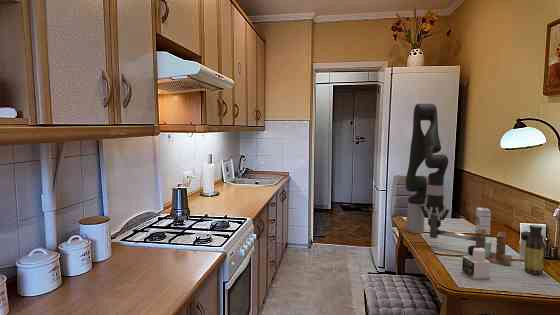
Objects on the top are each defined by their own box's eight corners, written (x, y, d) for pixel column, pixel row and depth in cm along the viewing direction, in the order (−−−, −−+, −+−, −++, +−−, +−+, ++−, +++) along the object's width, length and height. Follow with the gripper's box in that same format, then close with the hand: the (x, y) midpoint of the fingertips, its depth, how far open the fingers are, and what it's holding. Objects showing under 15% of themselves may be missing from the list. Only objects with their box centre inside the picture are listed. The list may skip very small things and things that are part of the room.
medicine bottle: (461, 271, 136) (462, 244, 135) (477, 271, 136) (478, 243, 135) (473, 279, 129) (474, 250, 128) (489, 278, 129) (491, 249, 128)
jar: (546, 261, 146) (548, 235, 145) (536, 264, 142) (538, 238, 141) (524, 254, 154) (526, 230, 153) (514, 257, 150) (516, 232, 150)
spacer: (483, 256, 149) (484, 242, 148) (485, 252, 154) (486, 238, 154) (488, 258, 148) (489, 243, 147) (490, 253, 153) (491, 239, 152)
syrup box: (490, 234, 183) (491, 210, 182) (478, 234, 185) (480, 209, 183) (485, 231, 189) (487, 207, 188) (474, 231, 190) (476, 207, 189)
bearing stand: (468, 257, 150) (469, 232, 150) (472, 250, 160) (473, 226, 159) (510, 266, 141) (511, 239, 140) (511, 257, 150) (512, 233, 149)
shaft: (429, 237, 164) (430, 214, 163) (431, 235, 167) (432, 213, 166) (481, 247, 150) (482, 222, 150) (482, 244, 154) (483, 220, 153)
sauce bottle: (546, 276, 131) (549, 228, 129) (527, 274, 133) (530, 227, 131) (538, 269, 137) (541, 224, 136) (521, 268, 139) (524, 223, 137)
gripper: (418, 193, 164) (417, 225, 166) (449, 196, 156) (448, 231, 157) (422, 190, 170) (421, 222, 172) (452, 193, 162) (450, 227, 163)
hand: (434, 226), depth 164 cm, fingers closed on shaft, 3 cm apart
